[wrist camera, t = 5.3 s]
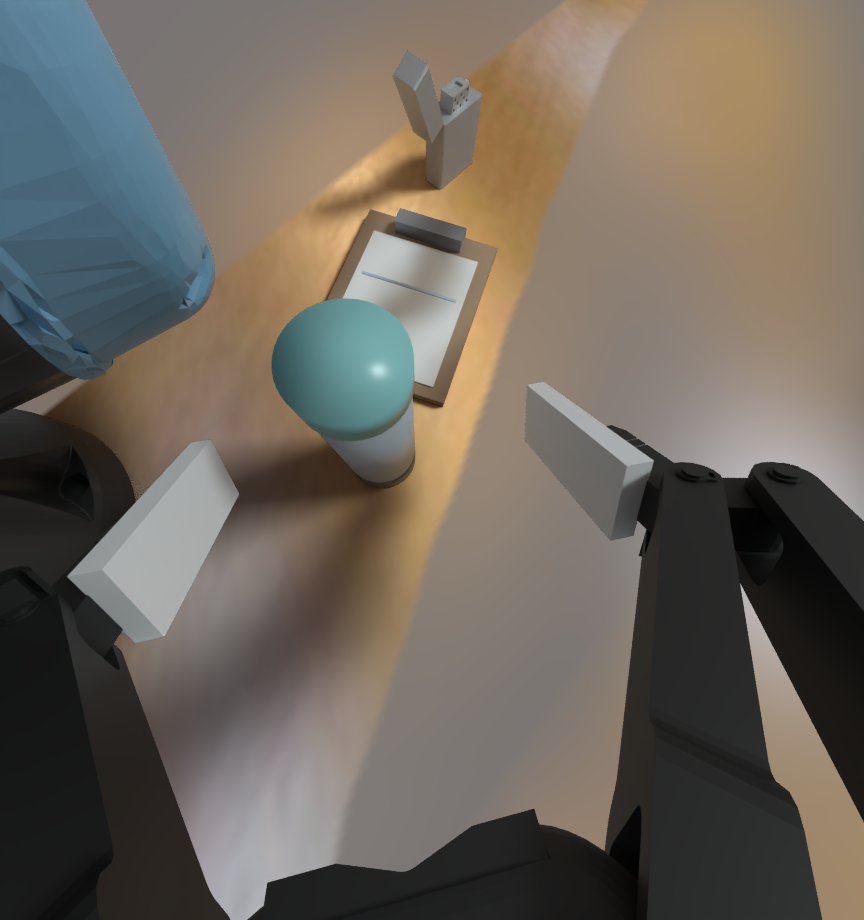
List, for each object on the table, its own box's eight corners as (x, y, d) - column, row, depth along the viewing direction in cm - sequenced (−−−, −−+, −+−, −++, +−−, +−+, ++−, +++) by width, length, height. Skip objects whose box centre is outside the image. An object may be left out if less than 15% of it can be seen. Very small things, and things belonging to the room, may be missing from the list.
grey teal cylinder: (340, 477, 21) (246, 399, 10) (364, 417, 22) (305, 282, 11) (404, 498, 21) (385, 445, 10) (425, 437, 22) (432, 321, 11)
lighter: (457, 150, 28) (472, 0, 20) (473, 161, 28) (494, 14, 20) (398, 199, 27) (390, 58, 19) (415, 211, 26) (413, 75, 19)
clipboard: (302, 361, 23) (294, 348, 22) (371, 216, 26) (368, 196, 25) (442, 406, 23) (444, 396, 21) (495, 254, 26) (500, 236, 24)
